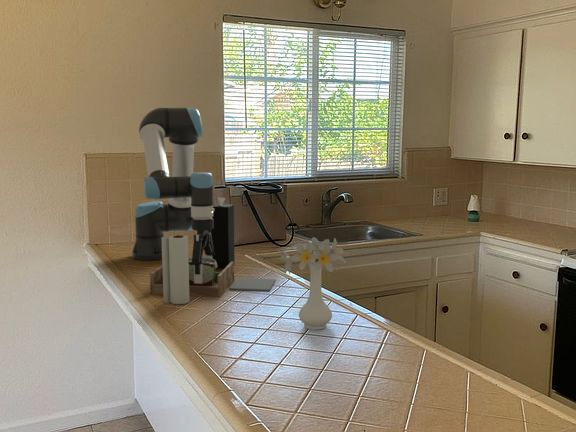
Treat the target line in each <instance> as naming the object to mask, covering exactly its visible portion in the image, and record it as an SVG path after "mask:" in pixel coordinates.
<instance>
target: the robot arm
mask: <svg viewBox="0 0 576 432" xmlns="http://www.w3.org/2000/svg"><path fill="white" fill-rule="evenodd" d="M202 123H203V121H202V118H201V115H200V112H199V110H198V109H197V108H192V107H157V108H154V109H152V110H151V111H148V113H146V114H145V116H144V117H143V119H142V120H141V121H140V124H139V128H138V133H139V134H138V135H139V138H140V140H141V141H142V143H143V150H144V157H145V164H146V171H147V177H145V178H144V179H143V195H144V197H145V198H146V199H149V200H151V199H152V200H154V201H147V202H142V203H139V204H138V205H136V206H135V208H134V221H135V222H134V225H135V241H134V244H133V248H132V250H131V252H132V253H131V258H132V259H134V260H139V261H154V260H155V261H156V260H162V238H163V237H165V235H164V234H165V233H167V232H182V231H183V232H188V231H196V234H194V235H193V244H192V245H193V247H192V248H193V249H192V255H191V258H192V262H191V265H194V283H197V284H202V283H203V276H202V264H201V262H202V258H211V259H212V256H211V255H215V252H214V248H213V242H212V236H211V229H213V228H214V219H213V218H211V217H213V211H215V209H214V208H213V205H214V195H213V194H214V181H213V173H211V172H207V171H200V172H199V171H198V172H194V161H195V160H194V157H195V146H196V145H197V144H198V142H199V139H200V138H202V137H203V133H204V132H203V124H202ZM165 138H168V141H169V143H170V144H171V145H172V175H171V176H170V169H169V164H168V158H167V153H166V147H165V142H164V139H165ZM161 199H162V200H163V199H168V204H164V203H163V201H161ZM157 200H158V201H157ZM164 232H165V233H164ZM204 254H205V255H204ZM203 256H204V257H203ZM196 260H198V261H196Z"/></svg>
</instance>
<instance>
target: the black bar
mask: <svg viewBox="0 0 576 432" xmlns="http://www.w3.org/2000/svg"><path fill="white" fill-rule="evenodd" d="M217 200H218V203H213V208H214V209H215V211H213V217H211V218H213V219H214V228H213V229H211V236H212V242H213V248H214V252H215V255H211V256H212V259H214V260H216V262H217V268H216V269H215V270H224V269H225V268H226V267H227V265H228V264H229V263H230V262H234V266H235V262H236V261H235V204H231V203H228V204H227V203H226V204H225V200H226V198H225V197H219V196H217Z"/></svg>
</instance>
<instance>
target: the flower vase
mask: <svg viewBox="0 0 576 432" xmlns="http://www.w3.org/2000/svg"><path fill="white" fill-rule="evenodd" d="M310 240H311V241H310ZM310 242H311V243H310ZM329 244H330V239H327V238H326V239H324V240H323V241H321V243H320V241H319V240H318V239H317V238H316V237H314V236H313V237H311V239H308V241H307V243H306V245H305V247H304V246H303V244H302V243H297V244H296V246H295V247H296V251H297V253H298V254H293V255H292V256H290V255H289V253H287V252H286V251H285V250H284V249H283V248H282V247H280V251H281V252H282V253H280V255H279V256H280V258H281V260H282V261H284V262H285V264H284V270H285V272H286V273H287V272H288V274H289V275H290V274H291V268H292V265H293V262H294V264H296V263H298V262H299V265H298V268H299V270H301V271H302V270H304V269H305V268H306V266H307V264H308V266H309V271H310V272H309V273H310V282H309V295H308V298H307V301H306V302H305V304H304V305H303V306H302V307H301V308H300V310H299V313H298V319H299V320H300V321H301V323H302V324H304V325H303V326H304V327H305V328H306V329H307V330H311V331H321V330H325V329H326V328H327V324H328V323H330V322H331V320H332V318H333V313H332V309H330V307H329V306H328V305H327V303H325V300H324V298H323V294H322V291H323V290H322V272H323V271H322V269H323V267H324V268H325V269H326V271H328V272H329V273H333V272H334V265H333V264H332V262H335V261H338V260H340V261H341V262H343V263H344V264H346V263H347V262H346V260H345V258H344V257H343V256H342V255H343V254H344V248H342V247H340V246H339V247H338V241H337V239H336V237H334V238H333V242H331V246H330V245H329Z"/></svg>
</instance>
